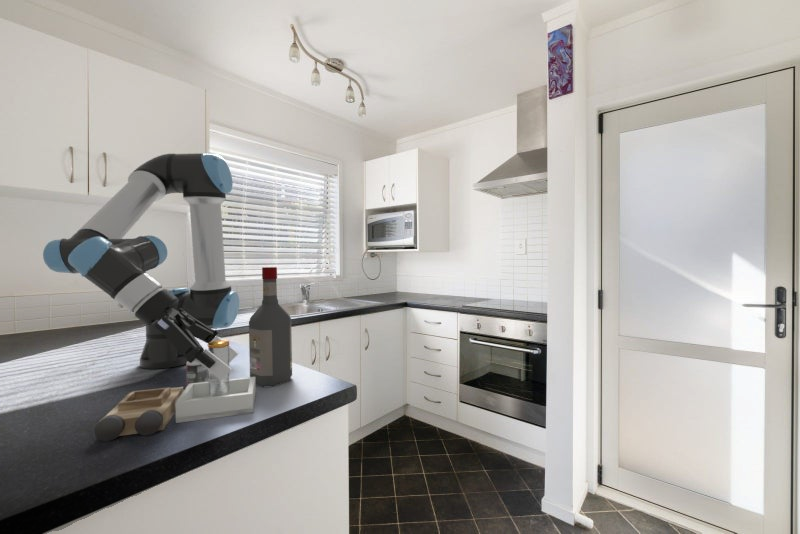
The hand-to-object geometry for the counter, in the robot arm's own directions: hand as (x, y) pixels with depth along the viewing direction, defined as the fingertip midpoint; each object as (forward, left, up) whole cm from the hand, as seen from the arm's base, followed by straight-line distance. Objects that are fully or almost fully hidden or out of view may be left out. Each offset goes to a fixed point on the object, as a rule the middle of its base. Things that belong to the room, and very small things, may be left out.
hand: (230, 365), depth 80 cm
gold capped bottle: (0, -2, -8) cm, 8 cm away
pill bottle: (-18, -10, -9) cm, 22 cm away
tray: (0, -2, -9) cm, 9 cm away
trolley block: (0, -16, -9) cm, 18 cm away
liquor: (-14, +8, -9) cm, 19 cm away
